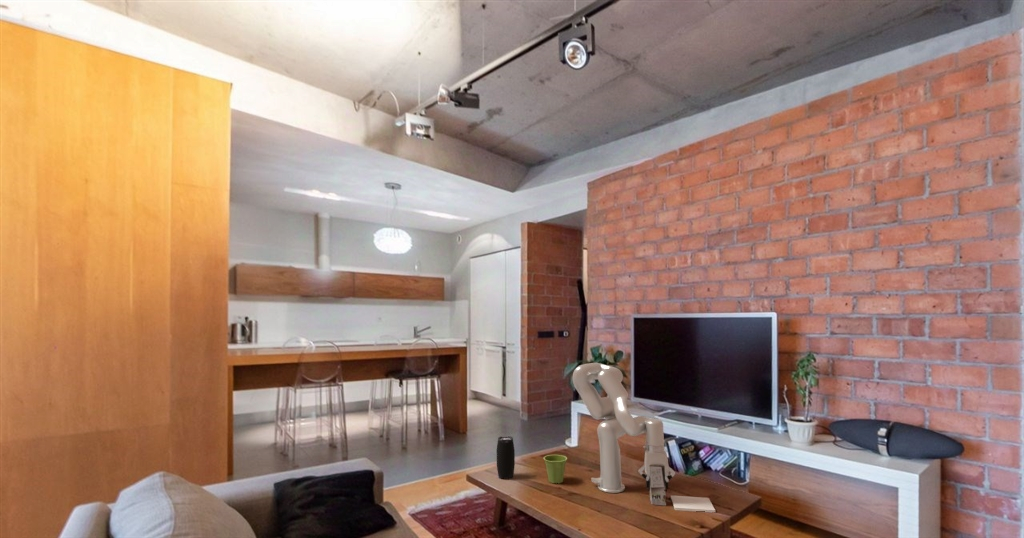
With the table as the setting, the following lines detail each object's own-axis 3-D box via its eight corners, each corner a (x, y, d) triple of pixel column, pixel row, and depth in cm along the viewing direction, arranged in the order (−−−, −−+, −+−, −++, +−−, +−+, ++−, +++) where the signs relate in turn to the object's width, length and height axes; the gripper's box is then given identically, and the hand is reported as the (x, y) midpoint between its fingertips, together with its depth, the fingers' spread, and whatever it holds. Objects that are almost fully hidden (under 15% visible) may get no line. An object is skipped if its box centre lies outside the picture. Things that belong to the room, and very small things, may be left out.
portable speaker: (493, 476, 235) (493, 437, 237) (509, 472, 240) (508, 434, 242) (502, 481, 228) (502, 441, 230) (518, 477, 233) (517, 438, 235)
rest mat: (674, 510, 192) (674, 507, 192) (670, 497, 204) (670, 495, 205) (715, 512, 189) (715, 510, 189) (708, 500, 201) (708, 497, 201)
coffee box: (666, 505, 196) (665, 466, 198) (651, 504, 197) (649, 466, 199) (664, 497, 205) (662, 460, 207) (649, 496, 206) (647, 459, 208)
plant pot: (571, 479, 229) (571, 456, 230) (561, 487, 219) (560, 463, 220) (550, 475, 235) (550, 453, 236) (539, 482, 225) (539, 459, 226)
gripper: (636, 449, 202) (637, 491, 200) (677, 451, 198) (679, 494, 196) (634, 444, 209) (636, 485, 207) (674, 446, 206) (676, 487, 204)
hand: (657, 489), depth 202 cm, fingers closed on coffee box, 6 cm apart
